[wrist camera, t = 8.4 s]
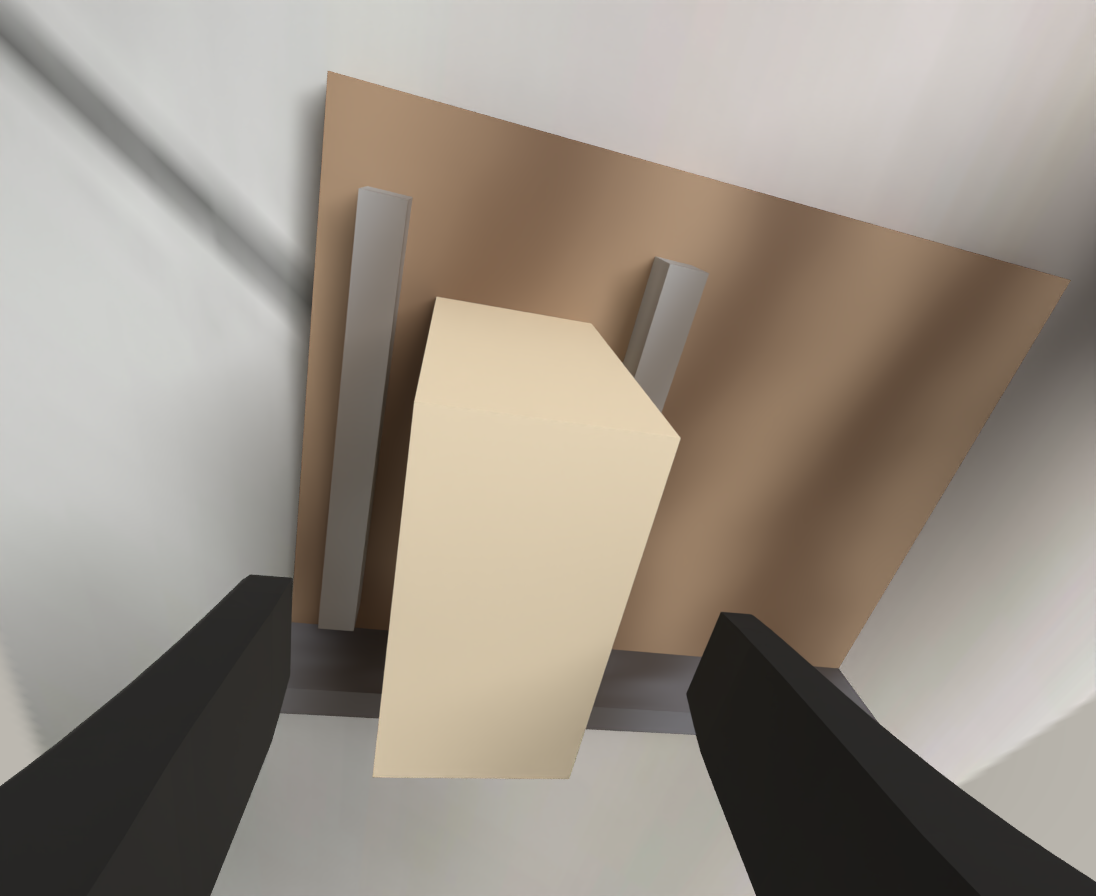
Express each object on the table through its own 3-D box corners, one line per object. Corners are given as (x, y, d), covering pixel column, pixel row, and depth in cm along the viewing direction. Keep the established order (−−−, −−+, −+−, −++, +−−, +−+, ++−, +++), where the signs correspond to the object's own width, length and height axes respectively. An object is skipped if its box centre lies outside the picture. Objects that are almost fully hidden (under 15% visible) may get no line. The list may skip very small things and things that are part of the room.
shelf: (1039, 273, 17) (1166, 299, 14) (811, 670, 24) (863, 747, 21) (337, 76, 13) (296, 50, 10) (296, 628, 19) (264, 717, 16)
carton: (532, 574, 18) (566, 785, 12) (404, 564, 18) (371, 784, 11) (591, 323, 15) (680, 437, 9) (436, 296, 14) (413, 401, 8)
